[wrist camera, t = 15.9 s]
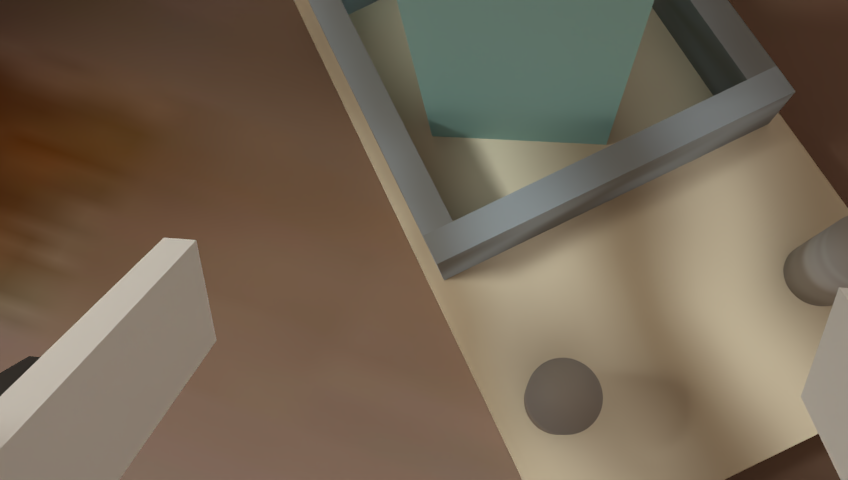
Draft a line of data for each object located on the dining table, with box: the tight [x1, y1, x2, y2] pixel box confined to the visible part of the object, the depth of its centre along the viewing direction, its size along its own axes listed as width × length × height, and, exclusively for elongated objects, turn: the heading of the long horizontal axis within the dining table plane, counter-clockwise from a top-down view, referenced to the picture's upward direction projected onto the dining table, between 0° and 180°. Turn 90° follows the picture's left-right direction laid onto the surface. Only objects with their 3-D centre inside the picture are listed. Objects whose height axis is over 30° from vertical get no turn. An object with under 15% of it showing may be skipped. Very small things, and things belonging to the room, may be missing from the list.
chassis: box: [294, 0, 848, 480], centre depth 22 cm, size 13×22×4 cm, turn 25°
